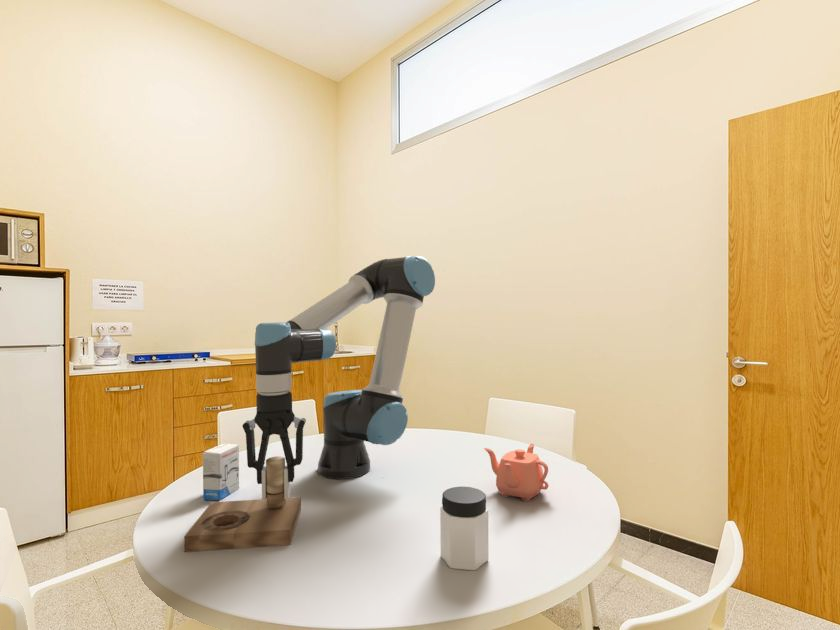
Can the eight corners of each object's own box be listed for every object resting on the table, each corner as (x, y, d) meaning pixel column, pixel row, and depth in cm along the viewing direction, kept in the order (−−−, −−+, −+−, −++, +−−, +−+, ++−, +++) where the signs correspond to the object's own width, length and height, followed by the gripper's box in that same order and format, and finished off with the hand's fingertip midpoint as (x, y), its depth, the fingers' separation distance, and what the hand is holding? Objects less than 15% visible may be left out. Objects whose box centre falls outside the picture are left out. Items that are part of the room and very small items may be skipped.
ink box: (219, 501, 111) (219, 453, 111) (202, 499, 112) (201, 452, 112) (240, 488, 120) (240, 443, 120) (223, 486, 121) (223, 442, 121)
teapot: (506, 508, 106) (505, 461, 106) (483, 486, 120) (483, 444, 120) (561, 501, 110) (561, 456, 110) (533, 480, 124) (533, 440, 124)
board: (301, 509, 106) (301, 497, 106) (290, 544, 90) (290, 529, 90) (211, 515, 104) (211, 502, 104) (184, 551, 88) (184, 536, 88)
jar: (460, 541, 91) (459, 482, 91) (495, 555, 86) (495, 492, 86) (432, 560, 84) (431, 496, 84) (468, 577, 79) (468, 508, 79)
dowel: (287, 499, 103) (286, 455, 103) (284, 507, 99) (283, 461, 99) (268, 500, 103) (267, 456, 102) (265, 508, 98) (264, 463, 98)
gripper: (315, 387, 105) (317, 487, 106) (238, 390, 103) (240, 492, 103) (311, 393, 98) (313, 501, 98) (228, 396, 96) (231, 506, 96)
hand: (276, 496), depth 101 cm, fingers closed on dowel, 4 cm apart
